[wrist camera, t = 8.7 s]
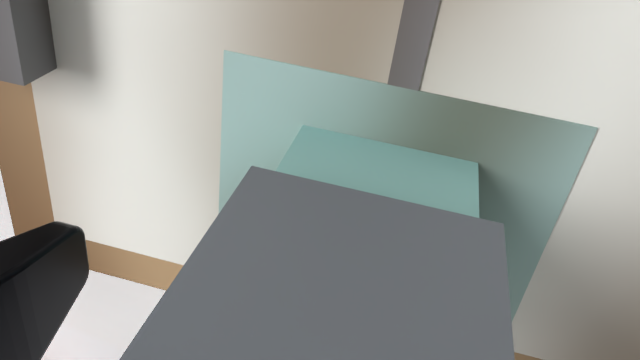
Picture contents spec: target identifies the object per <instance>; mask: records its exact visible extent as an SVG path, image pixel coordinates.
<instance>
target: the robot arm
mask: <svg viewBox="0 0 640 360" xmlns="http://www.w3.org/2000/svg"><path fill="white" fill-rule="evenodd" d="M88 274H89V262H88V255H87V247H86V240H85V234H84V231H83V230H82V228H80V227H79V226H76V225H72V224H68V223H64V222H60V221H54V222H50V223H47V224H45V225H42V226H39V227H37V228H34V229H32V230H29V231H26V232H24V233H21V234H19V235H16V236H13V237H11V238H8V239H5V240H3V241H0V360H41V358H42V357H43V355H44V353H45V352H46V350H47V348H48V346H49V345H50V343H51V341H52V340H53V338H54V336H55V334H56V333H57V331H58V329H59V328H60V326H61V324H62V322H63V321H64V319H65V317H66V316H67V314H68V312H69V310H70V309H71V307H72V305H73V304H74V302H75V300H76V298H77V297H78V295H79V293H80V291H81V290H82V288H83V286H84V285H85V283H86V280H87V278H88Z"/></svg>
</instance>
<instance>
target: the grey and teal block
mask: <svg viewBox="0 0 640 360" xmlns="http://www.w3.org/2000/svg"><path fill="white" fill-rule="evenodd" d="M120 360H515V357H514V345H513V333H512V320H511V308H510V295H509V283H508V271H507V258H506V246H505V233H504V224H503V223H498V222H494V221H490V220H485V219H481V218H479V173H478V163H476V162H472V161H467V160H462V159H458V158H453V157H449V156H444V155H439V154H435V153H430V152H426V151H421V150H416V149H412V148H407V147H403V146H398V145H393V144H389V143H384V142H380V141H375V140H370V139H366V138H361V137H357V136H352V135H348V134H343V133H338V132H334V131H329V130H325V129H320V128H315V127H311V126H306V125H303V126H302V127H301V129H300V131H299V132H298V134H297V136H296V137H295V139H294V141H293V142H292V144H291V146H290V147H289V149H288V151H287V152H286V154H285V156H284V157H283V159H282V161H281V163H280V164H279V166H278V168H277V169H276V171H273V170H268V169H264V168H260V167H255V166H251V167H250V169H249V170H248V172H247V173H246V175H245V176H244V178H243V179H242V180H241V182H240V183H239V185H238V186H237V188H236V189H235V191H234V192H233V194H232V195H231V197H230V198H229V200H228V201H227V202H226V204H225V205H224V207H223V208H222V210H221V211H220V213H219V214H218V216H217V217H216V219H215V220H214V222H213V223H212V224H211V226H210V227H209V229H208V230H207V232H206V233H205V235H204V236H203V238H202V239H201V241H200V242H199V244H198V245H197V247H196V248H195V249H194V251H193V252H192V254H191V255H190V257H189V258H188V260H187V261H186V263H185V264H184V266H183V267H182V269H181V270H180V271H179V273H178V274H177V276H176V277H175V279H174V280H173V282H172V283H171V285H170V286H169V288H168V289H167V291H166V292H165V294H164V295H163V296H162V298H161V299H160V301H159V302H158V304H157V305H156V307H155V308H154V310H153V311H152V313H151V314H150V316H149V317H148V318H147V320H146V321H145V323H144V324H143V326H142V327H141V329H140V330H139V332H138V333H137V335H136V336H135V338H134V339H133V340H132V342H131V343H130V345H129V346H128V348H127V349H126V351H125V352H124V354H123V355H122V357H121V358H120Z"/></svg>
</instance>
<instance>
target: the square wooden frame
mask: <svg viewBox="0 0 640 360" xmlns="http://www.w3.org/2000/svg"><path fill="white" fill-rule="evenodd" d="M303 125H306V126H311V127H315V128H320V129H325V130H329V131H334V132H338V133H343V134H348V135H352V136H357V137H361V138H366V139H370V140H375V141H380V142H384V143H389V144H393V145H398V146H403V147H407V148H412V149H416V150H421V151H426V152H430V153H435V154H439V155H444V156H449V157H453V158H458V159H462V160H467V161H472V162H476V163H478V173H479V218H481V219H485V220H490V221H494V222H498V223H503V224H504V233H505V246H506V258H507V271H508V283H509V295H510V308H511V320H512V333H513V345H514V357H515V360H640V0H0V169H1V174H2V178H3V183H4V187H5V192H6V197H7V201H8V206H9V210H10V215H11V219H12V224H13V228H14V233H15V236H16V235H19V234H21V233H24V232H26V231H29V230H32V229H34V228H37V227H39V226H42V225H45V224H47V223H50V222H54V221H60V222H64V223H68V224H72V225H76V226H79V227H80V228H82V230H83V231H84V234H85V240H86V247H87V255H88V262H89V270H93V271H96V272H100V273H104V274H107V275H111V276H115V277H119V278H122V279H126V280H130V281H133V282H137V283H141V284H145V285H148V286H152V287H156V288H159V289H163V290H167V289H168V288H169V286H170V285H171V283H172V282H173V280H174V279H175V277H176V276H177V274H178V273H179V271H180V270H181V269H182V267H183V266H184V264H185V263H186V261H187V260H188V258H189V257H190V255H191V254H192V252H193V251H194V249H195V248H196V247H197V245H198V244H199V242H200V241H201V239H202V238H203V236H204V235H205V233H206V232H207V230H208V229H209V227H210V226H211V224H212V223H213V222H214V220H215V219H216V217H217V216H218V214H219V213H220V211H221V210H222V208H223V207H224V205H225V204H226V202H227V201H228V200H229V198H230V197H231V195H232V194H233V192H234V191H235V189H236V188H237V186H238V185H239V183H240V182H241V180H242V179H243V178H244V176H245V175H246V173H247V172H248V170H249V169H250V167H251V166H255V167H260V168H264V169H268V170H273V171H276V169H277V168H278V166H279V164H280V163H281V161H282V159H283V157H284V156H285V154H286V152H287V151H288V149H289V147H290V146H291V144H292V142H293V141H294V139H295V137H296V136H297V134H298V132H299V131H300V129H301V127H302V126H303Z"/></svg>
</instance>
